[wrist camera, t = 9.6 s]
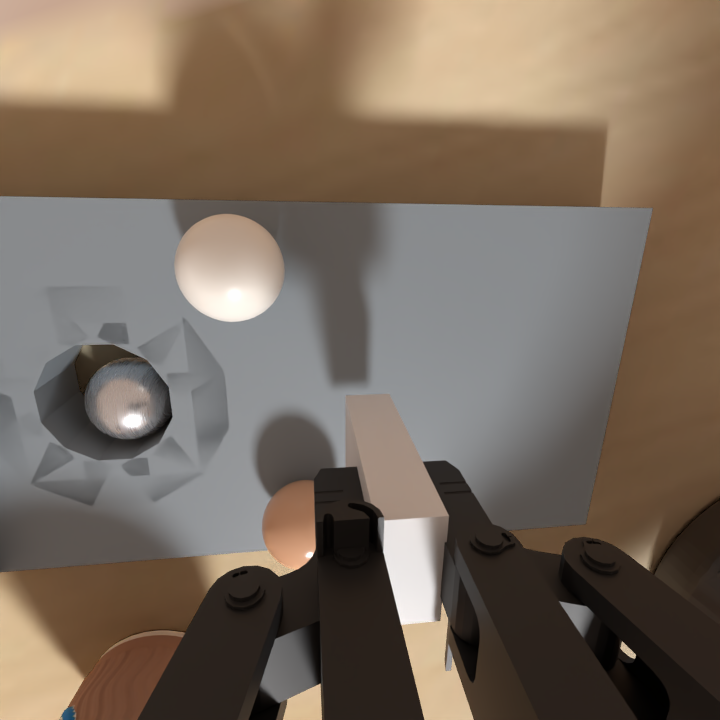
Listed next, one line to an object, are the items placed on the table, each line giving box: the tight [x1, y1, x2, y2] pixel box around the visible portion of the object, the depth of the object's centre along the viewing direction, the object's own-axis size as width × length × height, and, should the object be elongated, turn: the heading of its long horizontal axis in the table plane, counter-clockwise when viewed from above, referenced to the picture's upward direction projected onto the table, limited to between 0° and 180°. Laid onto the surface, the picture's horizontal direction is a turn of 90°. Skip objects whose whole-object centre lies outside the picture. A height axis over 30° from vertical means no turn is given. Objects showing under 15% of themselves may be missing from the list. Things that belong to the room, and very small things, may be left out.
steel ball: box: [84, 357, 172, 439], centre depth 17 cm, size 3×3×3 cm
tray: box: [0, 196, 653, 572], centre depth 18 cm, size 26×14×4 cm, turn 89°
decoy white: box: [174, 214, 285, 322], centre depth 14 cm, size 3×3×3 cm
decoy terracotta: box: [262, 480, 316, 570], centre depth 17 cm, size 3×3×3 cm
